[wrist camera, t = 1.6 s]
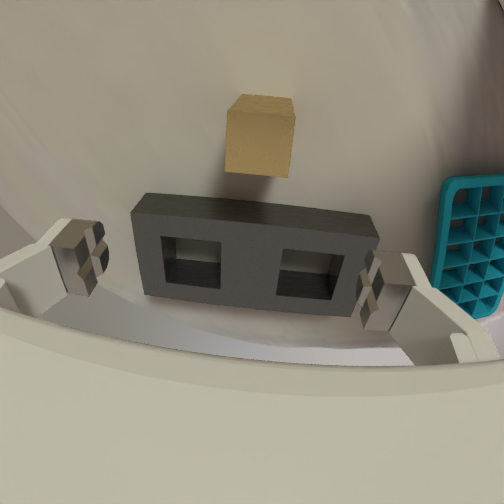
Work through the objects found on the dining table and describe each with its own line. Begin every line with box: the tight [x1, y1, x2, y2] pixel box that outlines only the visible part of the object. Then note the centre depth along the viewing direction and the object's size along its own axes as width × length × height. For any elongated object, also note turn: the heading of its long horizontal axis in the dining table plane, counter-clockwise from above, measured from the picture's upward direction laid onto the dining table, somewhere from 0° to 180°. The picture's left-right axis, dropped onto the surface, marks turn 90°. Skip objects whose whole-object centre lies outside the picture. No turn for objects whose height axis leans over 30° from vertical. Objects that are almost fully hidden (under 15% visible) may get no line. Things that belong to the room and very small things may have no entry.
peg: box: [225, 94, 296, 178], centre depth 22 cm, size 4×4×8 cm
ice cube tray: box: [429, 174, 504, 319], centre depth 29 cm, size 12×20×3 cm, turn 12°
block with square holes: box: [130, 193, 380, 317], centre depth 31 cm, size 22×10×4 cm, turn 86°
